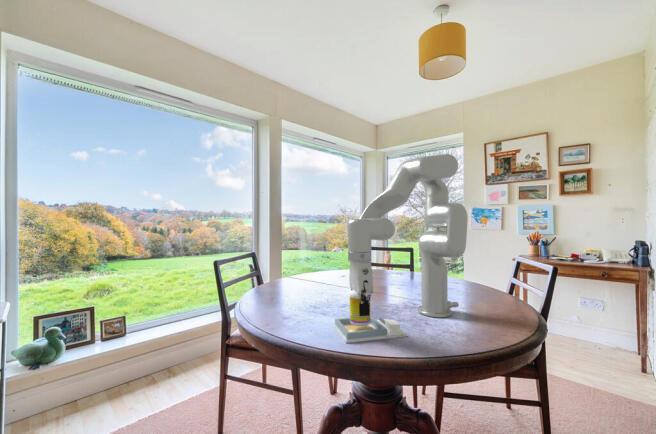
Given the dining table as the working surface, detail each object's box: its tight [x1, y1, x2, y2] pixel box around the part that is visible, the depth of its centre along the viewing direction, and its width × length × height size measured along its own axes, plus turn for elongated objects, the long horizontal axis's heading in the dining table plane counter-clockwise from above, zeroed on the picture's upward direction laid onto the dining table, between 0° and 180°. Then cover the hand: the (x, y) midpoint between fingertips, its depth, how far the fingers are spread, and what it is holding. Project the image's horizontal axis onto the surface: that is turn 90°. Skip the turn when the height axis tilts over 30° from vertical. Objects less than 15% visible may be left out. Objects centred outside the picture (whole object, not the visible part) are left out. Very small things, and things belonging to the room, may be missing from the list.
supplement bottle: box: [349, 284, 371, 326], centre depth 94 cm, size 7×7×13 cm
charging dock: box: [332, 315, 408, 344], centre depth 95 cm, size 20×14×3 cm
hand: (360, 311), depth 94 cm, fingers closed on supplement bottle, 6 cm apart
